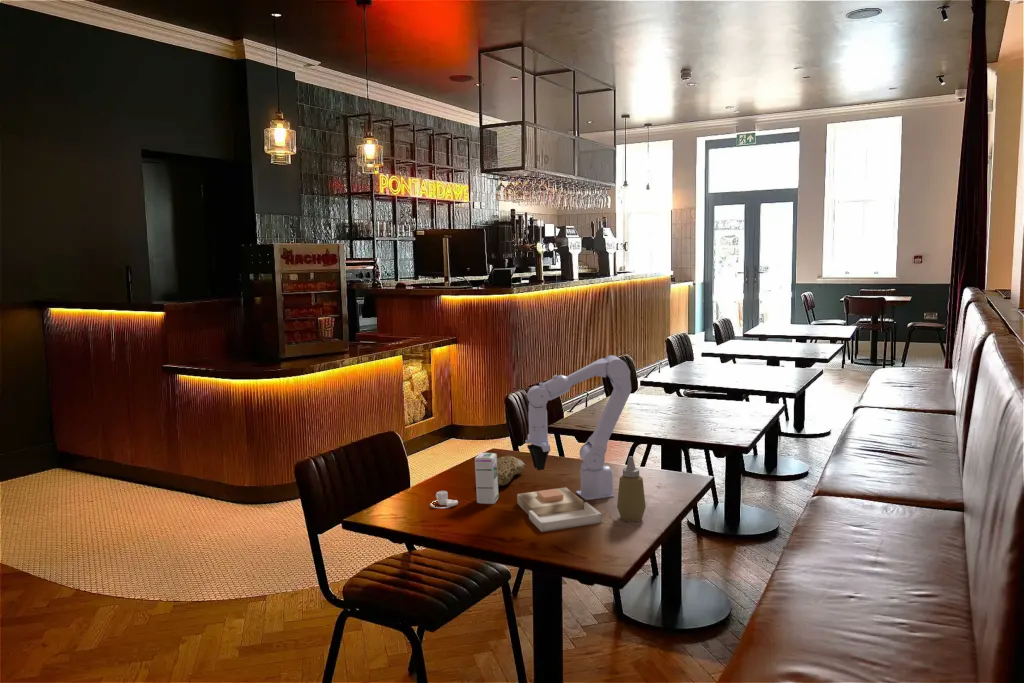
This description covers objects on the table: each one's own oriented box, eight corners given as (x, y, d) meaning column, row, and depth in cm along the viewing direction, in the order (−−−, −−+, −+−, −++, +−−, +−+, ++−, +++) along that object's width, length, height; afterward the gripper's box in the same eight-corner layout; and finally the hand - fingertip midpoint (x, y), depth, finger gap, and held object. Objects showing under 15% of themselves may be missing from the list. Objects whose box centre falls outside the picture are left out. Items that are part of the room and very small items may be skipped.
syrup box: (495, 504, 218) (493, 457, 217) (476, 503, 220) (474, 457, 218) (498, 497, 224) (497, 452, 222) (480, 497, 225) (478, 452, 223)
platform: (566, 496, 223) (566, 487, 223) (583, 510, 211) (583, 500, 211) (517, 503, 218) (517, 494, 218) (531, 518, 206) (531, 508, 206)
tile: (555, 493, 218) (555, 488, 217) (563, 499, 212) (563, 494, 212) (537, 496, 216) (537, 491, 216) (544, 502, 210) (544, 497, 210)
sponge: (500, 473, 253) (466, 477, 236) (505, 451, 253) (471, 454, 236) (531, 486, 246) (498, 491, 229) (537, 464, 245) (503, 467, 229)
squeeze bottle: (611, 516, 206) (610, 455, 204) (635, 511, 209) (635, 451, 207) (626, 525, 198) (626, 462, 196) (651, 520, 202) (651, 458, 199)
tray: (586, 510, 211) (586, 502, 211) (601, 522, 201) (601, 514, 201) (529, 519, 205) (528, 510, 205) (541, 532, 196) (541, 523, 195)
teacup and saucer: (461, 507, 218) (461, 494, 218) (438, 512, 214) (437, 499, 214) (449, 499, 226) (448, 486, 225) (426, 504, 222) (425, 491, 221)
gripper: (518, 421, 225) (519, 463, 227) (533, 432, 212) (534, 476, 213) (539, 419, 228) (540, 461, 229) (556, 429, 214) (557, 474, 216)
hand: (539, 468), depth 222 cm, fingers closed
